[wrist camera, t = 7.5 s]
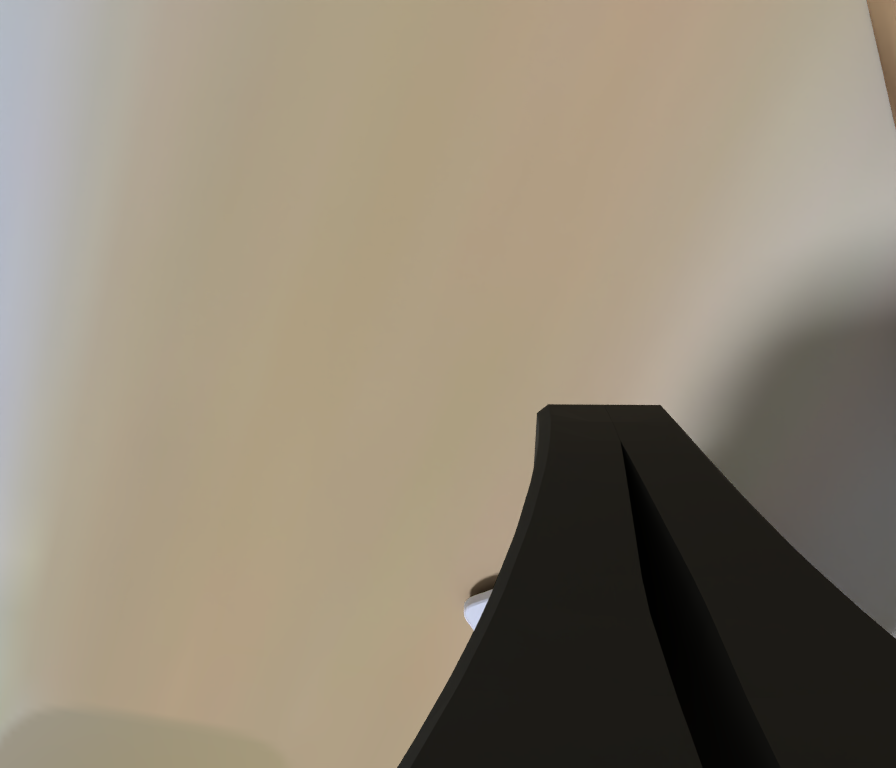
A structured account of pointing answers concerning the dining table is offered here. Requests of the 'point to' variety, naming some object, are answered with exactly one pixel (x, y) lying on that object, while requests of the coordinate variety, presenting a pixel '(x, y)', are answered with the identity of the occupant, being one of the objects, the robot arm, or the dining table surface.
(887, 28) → the base board
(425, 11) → the dining table surface
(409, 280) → the dining table surface
